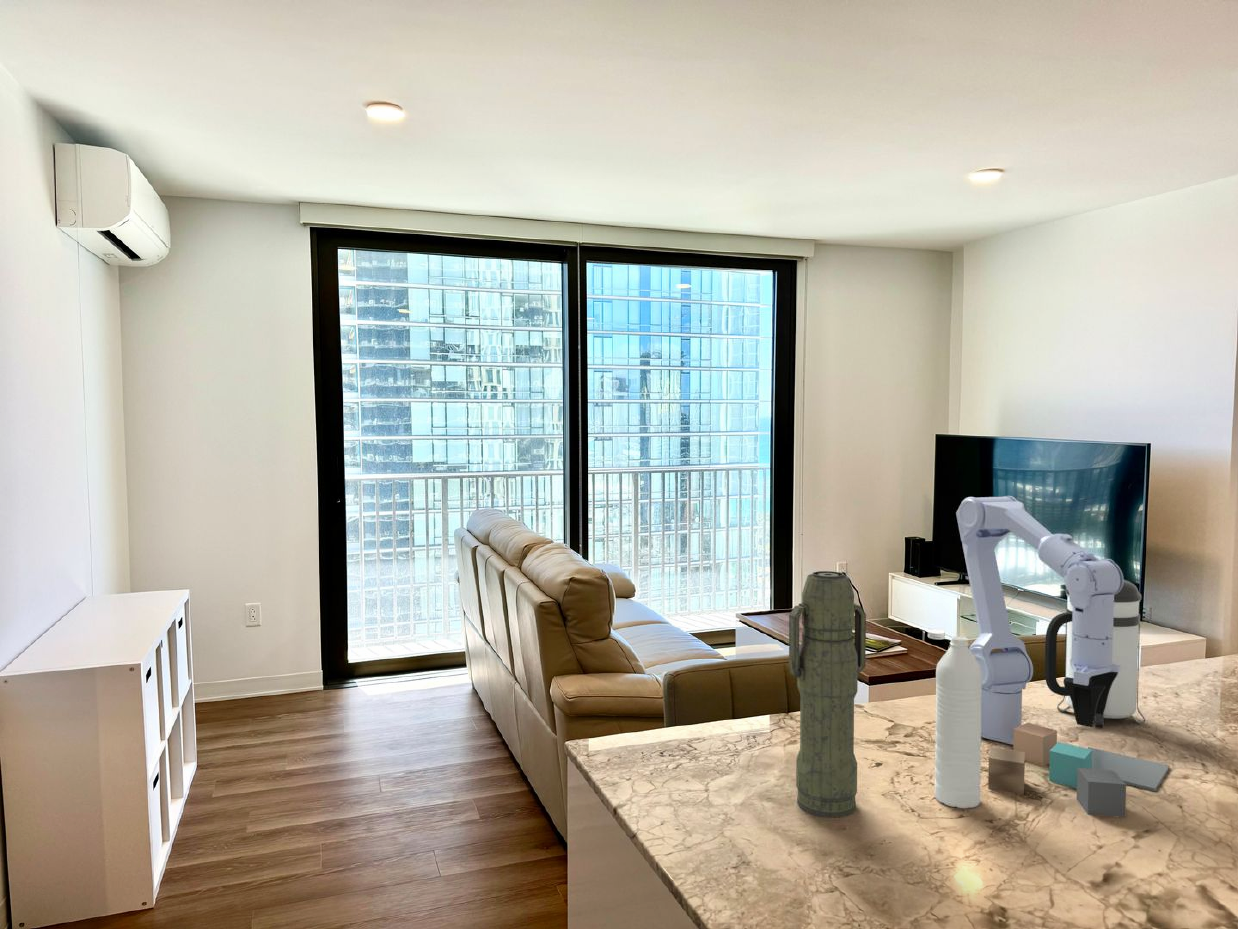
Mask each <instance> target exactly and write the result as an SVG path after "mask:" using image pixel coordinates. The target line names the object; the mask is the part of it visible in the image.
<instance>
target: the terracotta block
mask: <svg viewBox="0 0 1238 929" xmlns="http://www.w3.org/2000/svg"><path fill="white" fill-rule="evenodd" d="M1057 743H1058V730H1056V729H1052V728H1050V727H1045V726H1042V725H1039V724H1034V723H1031V722H1026V723H1024V724H1022V725H1021V726H1019V727H1017V728H1015V729H1014V743H1013V745H1012V746H1013V750H1012V751H1019V752H1025V762H1028V763H1032V764H1035V765H1038V766H1041V767H1044V766H1046V765H1048V764H1049V759H1050V750H1051V749H1052V748H1053V747H1054V746H1055V745H1056V744H1057Z"/></svg>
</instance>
